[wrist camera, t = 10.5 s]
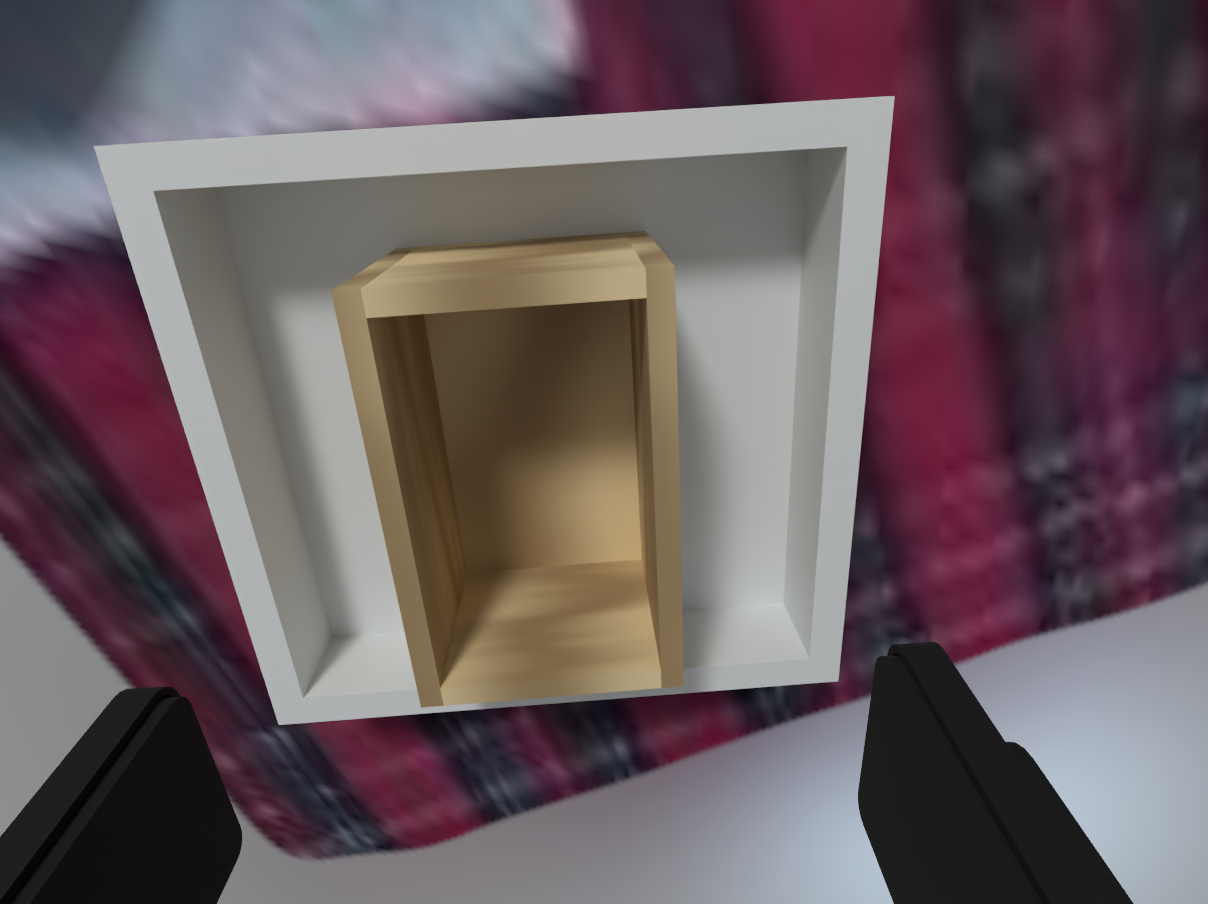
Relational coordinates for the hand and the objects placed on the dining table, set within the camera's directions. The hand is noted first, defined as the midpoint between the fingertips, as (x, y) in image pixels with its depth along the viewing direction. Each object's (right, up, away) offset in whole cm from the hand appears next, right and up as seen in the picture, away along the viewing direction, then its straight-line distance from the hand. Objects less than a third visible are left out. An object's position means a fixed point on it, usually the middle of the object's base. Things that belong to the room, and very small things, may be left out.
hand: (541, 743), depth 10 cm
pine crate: (-1, +5, +12) cm, 13 cm away
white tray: (-1, +5, +13) cm, 14 cm away
